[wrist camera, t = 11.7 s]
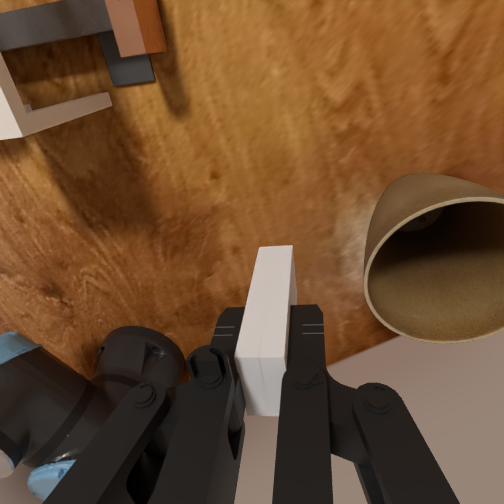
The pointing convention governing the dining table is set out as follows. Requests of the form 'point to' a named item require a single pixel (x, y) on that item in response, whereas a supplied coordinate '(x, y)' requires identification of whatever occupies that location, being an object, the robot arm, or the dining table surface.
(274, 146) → the dining table surface
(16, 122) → the white mini stool
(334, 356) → the dining table surface
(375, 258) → the plant pot
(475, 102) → the dining table surface
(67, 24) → the long-handled tray
